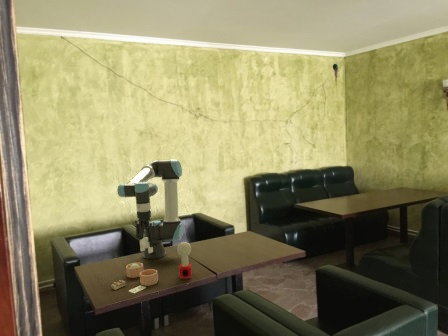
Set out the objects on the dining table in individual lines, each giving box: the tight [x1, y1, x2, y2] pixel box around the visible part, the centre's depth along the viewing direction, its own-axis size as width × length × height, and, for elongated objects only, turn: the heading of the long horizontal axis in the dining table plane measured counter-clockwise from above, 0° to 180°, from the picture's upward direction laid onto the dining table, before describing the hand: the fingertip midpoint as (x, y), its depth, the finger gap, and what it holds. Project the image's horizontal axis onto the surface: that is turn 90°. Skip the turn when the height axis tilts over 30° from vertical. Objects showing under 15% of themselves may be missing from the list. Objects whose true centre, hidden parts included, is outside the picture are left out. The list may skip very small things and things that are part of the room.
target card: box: [128, 284, 147, 294], centre depth 197 cm, size 5×8×1 cm, turn 142°
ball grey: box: [141, 236, 149, 248], centre depth 203 cm, size 6×6×6 cm
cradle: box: [111, 279, 127, 290], centre depth 202 cm, size 3×7×3 cm, turn 142°
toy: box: [176, 241, 193, 279], centre depth 211 cm, size 8×8×20 cm
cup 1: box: [125, 262, 145, 279], centre depth 218 cm, size 9×9×6 cm
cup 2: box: [139, 268, 159, 287], centre depth 205 cm, size 9×9×6 cm
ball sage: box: [130, 264, 140, 268], centre depth 218 cm, size 6×6×6 cm
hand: (146, 251), depth 204 cm, fingers closed on ball grey, 6 cm apart
